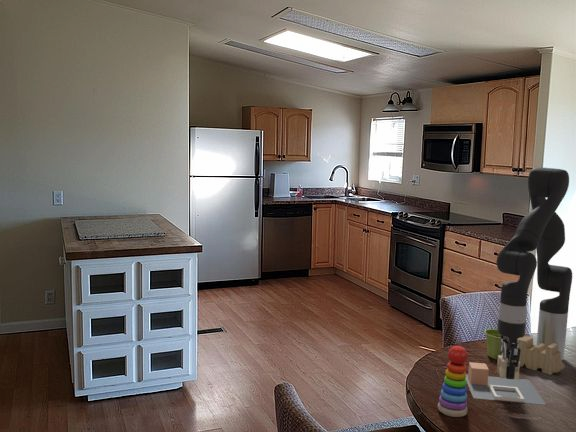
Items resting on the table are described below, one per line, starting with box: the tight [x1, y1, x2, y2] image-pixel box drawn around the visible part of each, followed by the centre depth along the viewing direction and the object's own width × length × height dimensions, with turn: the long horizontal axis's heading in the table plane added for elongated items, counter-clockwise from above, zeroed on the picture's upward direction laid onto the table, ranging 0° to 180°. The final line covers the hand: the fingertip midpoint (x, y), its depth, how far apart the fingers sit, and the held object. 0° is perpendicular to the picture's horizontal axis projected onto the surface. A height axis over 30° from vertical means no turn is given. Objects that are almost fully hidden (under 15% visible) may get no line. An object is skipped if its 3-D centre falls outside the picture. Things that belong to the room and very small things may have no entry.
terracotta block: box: [467, 361, 490, 385], centre depth 173 cm, size 5×5×5 cm
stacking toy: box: [437, 345, 468, 418], centre depth 153 cm, size 8×8×19 cm
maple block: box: [496, 355, 521, 380], centre depth 163 cm, size 5×5×5 cm
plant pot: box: [484, 328, 502, 360], centre depth 198 cm, size 9×9×9 cm
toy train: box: [517, 335, 566, 376], centre depth 186 cm, size 6×17×10 cm, turn 44°
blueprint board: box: [465, 373, 547, 406], centre depth 168 cm, size 18×20×2 cm
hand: (507, 374), depth 163 cm, fingers closed on maple block, 5 cm apart
